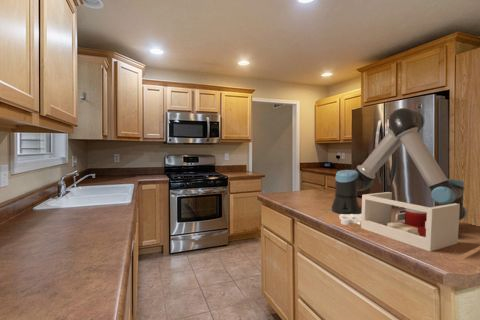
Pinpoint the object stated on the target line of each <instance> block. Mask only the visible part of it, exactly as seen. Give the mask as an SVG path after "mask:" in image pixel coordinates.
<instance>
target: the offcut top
mask: <svg viewBox="0 0 480 320" xmlns="http://www.w3.org/2000/svg"><path fill="white" fill-rule="evenodd" d="M386 226H388V227H392V228H395V229H399V230H402V231H405V232H409V233H412V234H416V233H418V228H415V227H412V226H409V225H406V224H405V223H402V222H398V221H393V222H392V221H391V223H387V225H386Z"/></svg>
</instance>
